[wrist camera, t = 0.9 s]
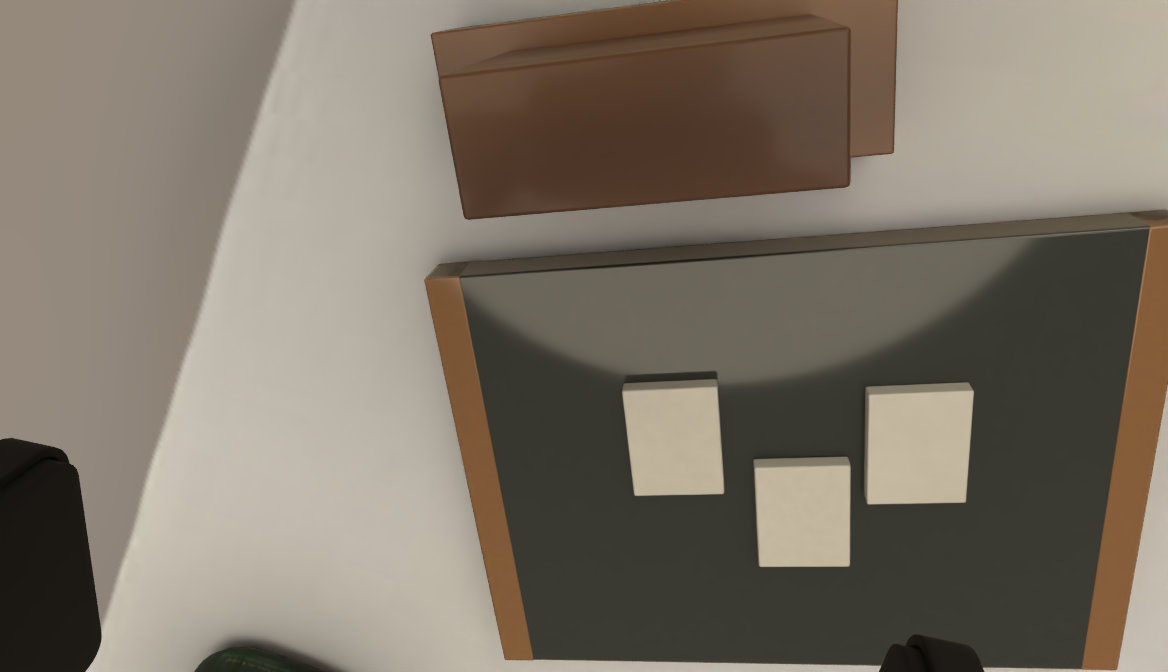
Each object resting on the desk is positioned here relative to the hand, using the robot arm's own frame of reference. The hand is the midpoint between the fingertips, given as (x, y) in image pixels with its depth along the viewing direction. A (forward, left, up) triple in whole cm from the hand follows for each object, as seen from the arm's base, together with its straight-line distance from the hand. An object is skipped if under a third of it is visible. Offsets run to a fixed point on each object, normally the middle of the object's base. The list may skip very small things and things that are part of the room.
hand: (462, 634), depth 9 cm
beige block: (+10, +5, -16) cm, 20 cm away
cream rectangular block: (+7, +1, -16) cm, 18 cm away
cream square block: (+8, +9, -16) cm, 20 cm away
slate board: (+9, +5, -18) cm, 21 cm away
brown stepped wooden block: (-4, +2, -18) cm, 18 cm away
